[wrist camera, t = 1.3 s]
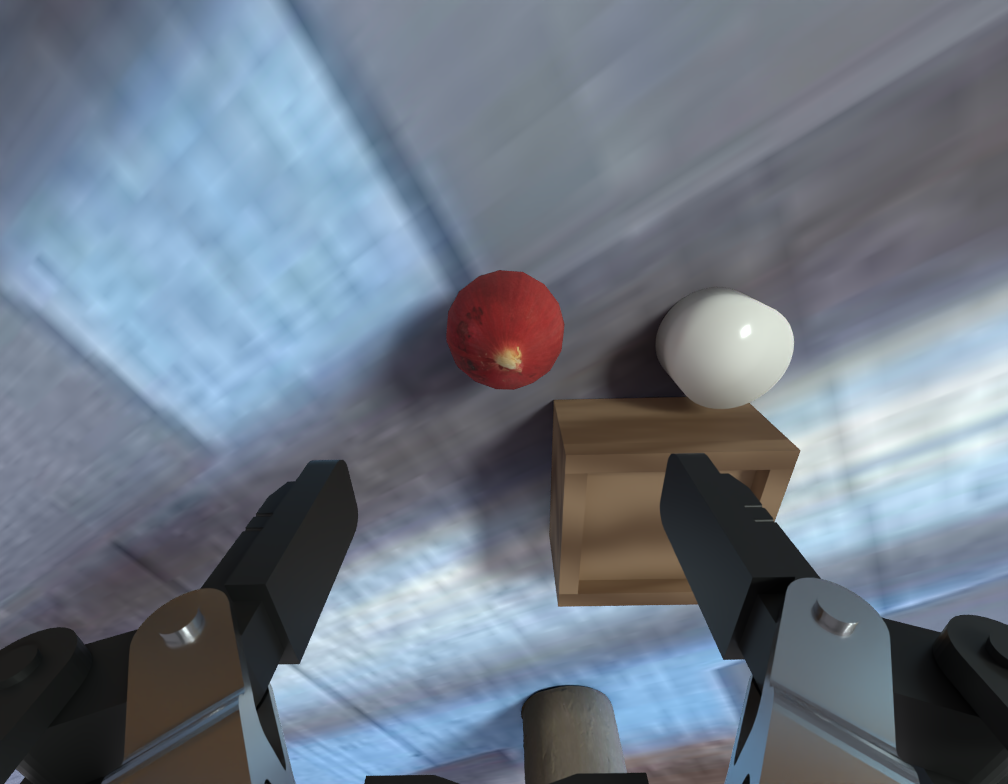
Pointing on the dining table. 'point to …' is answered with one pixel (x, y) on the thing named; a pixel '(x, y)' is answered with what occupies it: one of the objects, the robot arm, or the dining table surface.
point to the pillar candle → (569, 735)
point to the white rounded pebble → (724, 347)
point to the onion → (505, 329)
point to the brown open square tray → (643, 490)
